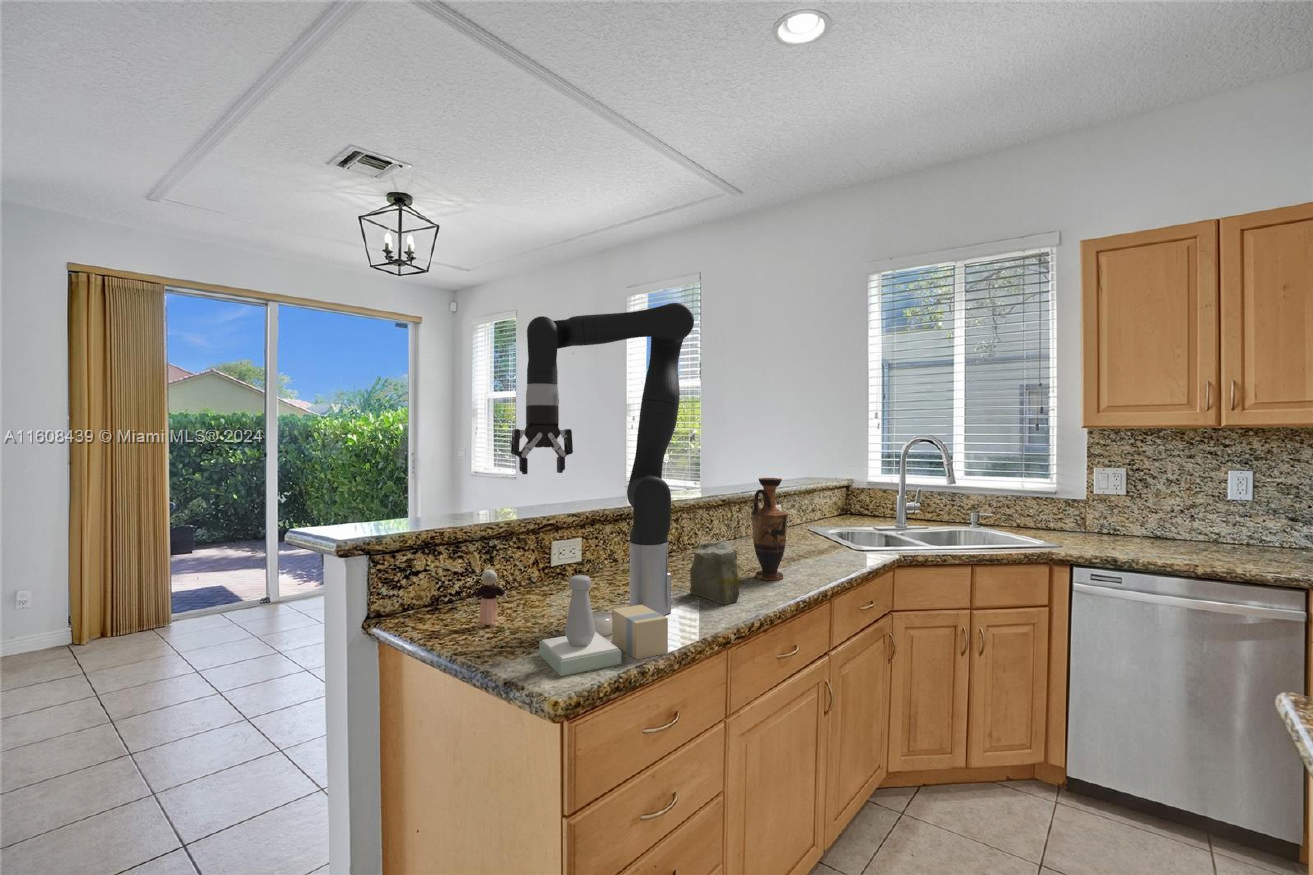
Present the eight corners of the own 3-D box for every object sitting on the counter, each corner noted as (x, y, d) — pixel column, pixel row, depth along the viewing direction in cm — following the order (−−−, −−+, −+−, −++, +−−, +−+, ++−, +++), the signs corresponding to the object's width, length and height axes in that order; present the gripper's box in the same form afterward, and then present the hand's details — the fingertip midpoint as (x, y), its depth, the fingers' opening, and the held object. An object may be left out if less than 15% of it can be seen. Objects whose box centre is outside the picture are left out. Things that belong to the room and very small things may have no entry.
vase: (788, 574, 188) (788, 477, 188) (787, 582, 177) (787, 479, 177) (752, 572, 190) (752, 476, 190) (749, 580, 180) (749, 479, 180)
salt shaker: (597, 647, 116) (597, 578, 116) (567, 650, 114) (567, 580, 114) (591, 637, 121) (592, 572, 121) (563, 640, 120) (563, 573, 120)
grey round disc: (585, 638, 130) (584, 625, 130) (584, 626, 136) (583, 613, 136) (615, 635, 131) (614, 622, 131) (612, 623, 137) (612, 610, 137)
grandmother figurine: (473, 630, 135) (472, 572, 135) (471, 625, 138) (471, 569, 138) (508, 626, 138) (508, 570, 138) (506, 621, 141) (506, 566, 141)
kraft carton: (642, 637, 130) (642, 604, 130) (668, 653, 121) (668, 617, 121) (612, 643, 127) (611, 609, 127) (636, 660, 117) (636, 623, 117)
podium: (595, 644, 126) (595, 630, 126) (621, 663, 115) (621, 648, 115) (539, 654, 120) (539, 639, 120) (560, 676, 109) (560, 659, 109)
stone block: (725, 606, 154) (725, 546, 154) (687, 593, 166) (687, 538, 166) (754, 599, 160) (754, 542, 160) (716, 587, 172) (716, 534, 172)
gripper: (565, 405, 149) (565, 471, 149) (507, 404, 142) (507, 473, 142) (576, 404, 143) (576, 473, 143) (517, 402, 136) (517, 475, 136)
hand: (542, 473), depth 143 cm, fingers open, 8 cm apart
